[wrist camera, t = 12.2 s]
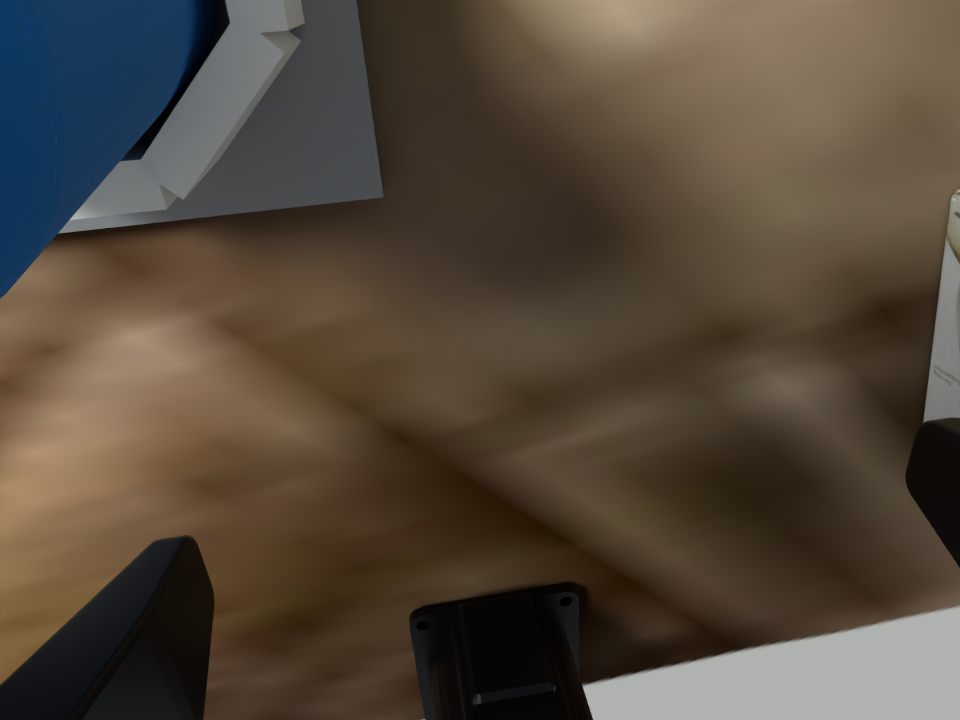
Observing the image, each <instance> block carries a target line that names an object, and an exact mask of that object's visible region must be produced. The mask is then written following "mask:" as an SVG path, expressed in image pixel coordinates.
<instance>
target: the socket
mask: <svg viewBox="0 0 960 720" xmlns="http://www.w3.org/2000/svg"><path fill="white" fill-rule="evenodd" d="M383 197H384V196H383V187H382V179H381V172H380V165H379V158H378V151H377V143H376V136H375V129H374V122H373V115H372V107H371V100H370V93H369V86H368V79H367V71H366V64H365V57H364V50H363V43H362V36H361V28H360V21H359V14H358V7H357V0H217V12H216V20H215V26H214V30H213V34H212V37H211V41H210V44H209V47H208V49H207V51H206V54H205V56H204V58H203V61H202V63H201V64H200V66H199V67H198V69H197V71H196V72H195V74H194V75H193V77H192V78H191V79H190V80H189V82H188V83H187V84H186V85H185V86H184V87H183V89H182V90H181V91H180V92H179V93H178V94H177V96H176V97H175V98H174V99H173V100H172V101H171V103H170V104H169V105H168V106H167V107H166V108H165V110H164V111H163V112H162V113H161V114H160V115H159V116H158V118H157V119H156V120H155V121H154V122H153V123H152V125H151V126H150V127H149V128H148V129H147V130H146V132H145V133H144V134H143V135H142V136H141V137H140V139H139V140H138V141H137V142H136V143H135V144H134V146H133V147H132V148H131V149H130V150H129V151H128V152H127V154H126V155H125V156H124V157H123V158H122V159H121V161H120V162H119V163H118V164H117V165H116V166H115V168H114V169H113V170H112V171H111V172H110V173H109V175H108V176H107V177H106V178H105V179H104V180H103V182H102V183H101V184H100V185H99V186H98V187H97V189H96V190H95V191H94V192H93V193H92V194H91V195H90V197H89V198H88V199H87V200H86V201H85V202H84V204H83V205H82V206H81V207H80V208H79V209H78V211H77V212H76V213H75V214H74V215H73V216H72V218H71V219H70V220H69V221H68V222H67V223H66V225H65V226H64V227H63V228H62V229H61V230H60V231H59V233H67V232H76V231H85V230H94V229H103V228H112V227H121V226H130V225H139V224H148V223H157V222H166V221H176V220H185V219H194V218H203V217H212V216H221V215H230V214H239V213H248V212H257V211H266V210H275V209H284V208H293V207H302V206H311V205H320V204H329V203H338V202H347V201H356V200H365V199H374V198H383Z"/></svg>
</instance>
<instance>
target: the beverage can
mask: <svg viewBox="0 0 960 720" xmlns="http://www.w3.org/2000/svg"><path fill="white" fill-rule="evenodd" d="M216 12H217V0H0V298H1V297H3V296H4V295H5V294H6V293H7V292H8V290H9V289H10V288H11V287H12V286H13V285H14V284H15V282H16V281H17V280H18V279H19V278H20V277H21V276H22V274H23V273H24V272H25V271H26V270H27V269H28V268H29V266H30V265H31V264H32V263H33V262H34V261H35V259H36V258H37V257H38V256H39V255H40V254H41V252H42V251H43V250H44V249H45V248H46V247H47V245H48V244H49V243H50V242H51V241H52V240H53V238H54V237H55V236H56V235H57V234H58V233H59V231H60V230H61V229H62V228H63V227H64V226H65V225H66V223H67V222H68V221H69V220H70V219H71V218H72V216H73V215H74V214H75V213H76V212H77V211H78V209H79V208H80V207H81V206H82V205H83V204H84V202H85V201H86V200H87V199H88V198H89V197H90V195H91V194H92V193H93V192H94V191H95V190H96V189H97V187H98V186H99V185H100V184H101V183H102V182H103V180H104V179H105V178H106V177H107V176H108V175H109V173H110V172H111V171H112V170H113V169H114V168H115V166H116V165H117V164H118V163H119V162H120V161H121V159H122V158H123V157H124V156H125V155H126V154H127V152H128V151H129V150H130V149H131V148H132V147H133V146H134V144H135V143H136V142H137V141H138V140H139V139H140V137H141V136H142V135H143V134H144V133H145V132H146V130H147V129H148V128H149V127H150V126H151V125H152V123H153V122H154V121H155V120H156V119H157V118H158V116H159V115H160V114H161V113H162V112H163V111H164V110H165V108H166V107H167V106H168V105H169V104H170V103H171V101H172V100H173V99H174V98H175V97H176V96H177V94H178V93H179V92H180V91H181V90H182V89H183V87H184V86H185V85H186V84H187V83H188V82H189V80H190V79H191V78H192V77H193V75H194V74H195V72H196V71H197V69H198V67H199V66H200V64H201V63H202V61H203V58H204V56H205V54H206V51H207V49H208V47H209V44H210V41H211V37H212V34H213V30H214V26H215V20H216Z"/></svg>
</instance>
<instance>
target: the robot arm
mask: <svg viewBox="0 0 960 720" xmlns="http://www.w3.org/2000/svg"><path fill="white" fill-rule="evenodd" d="M905 477H906V484H907V487H908V490H909V492H910V494H911V496H912V497H913V499H914V500H915V502H916V503H917V505H918V506H919V508H920V509H921V511H922V512H923V514H924V515H925V517H926V518H927V520H928V521H929V523H930V524H931V526H932V527H933V529H934V530H935V532H936V533H937V535H938V536H939V538H940V539H941V540H942V542H943V543H944V545H945V546H946V548H947V549H948V551H949V552H950V554H951V555H952V557H953V558H954V560H955V561H956V563H957V564H958V566H959V567H960V418H956V417H949V418H943V419H936V420H930V421H926V422H924V423H922V424H921V425H920V426H919V427H918V429H917V431H916V434H915V437H914V441H913V445H912V449H911V453H910V457H909V461H908V465H907V469H906V474H905ZM564 597H567V598H564ZM562 598H564V599H562ZM213 613H214V593H213V588H212V584H211V581H210V578H209V576H208V573H207V570H206V567H205V564H204V561H203V558H202V555H201V553H200V550H199V547H198V544H197V542H196V541H195V540H194V538H193V537H191V536H188V535H184V536H177V537H171V538H164V539H159V540H156V541H154V542H152V543H151V544H150V545H149V546H148V547H147V548H146V549H144V550H143V551H142V552H141V553H140V554H139V555H138V556H137V557H136V558H135V559H134V560H133V561H132V562H131V563H130V564H128V565H127V566H126V567H125V568H124V569H123V570H122V571H121V572H120V573H119V574H118V575H117V576H116V577H115V578H114V579H113V580H111V581H110V582H109V583H108V584H107V585H106V586H105V587H104V588H103V589H102V590H101V591H100V592H99V593H98V594H97V595H95V596H94V597H93V598H92V599H91V600H90V601H89V602H88V603H87V604H86V605H85V606H84V607H83V608H82V609H81V610H79V611H78V612H77V613H76V614H75V615H74V616H73V617H72V618H71V619H70V620H69V621H68V622H67V623H66V624H65V625H64V626H62V627H61V628H60V629H59V630H58V631H57V632H56V633H55V634H54V635H53V636H52V637H51V638H50V639H49V640H48V641H46V642H45V643H44V644H43V645H42V646H41V647H40V648H39V649H38V650H37V651H36V652H35V653H34V654H33V655H32V656H31V657H29V658H28V659H27V660H26V661H25V662H24V663H23V664H22V665H21V666H20V667H19V668H18V669H17V670H16V671H15V672H13V673H12V674H11V675H10V676H9V677H8V678H7V679H6V680H5V681H4V682H3V683H2V684H1V685H0V720H203V717H204V707H205V697H206V687H207V676H208V666H209V655H210V645H211V634H212V624H213ZM420 621H425V622H420ZM409 623H410V632H411V638H412V643H413V649H414V655H415V661H416V667H417V673H418V679H419V684H420V690H421V696H422V702H423V708H424V714H425V719H426V720H593V718H592V715H591V712H590V709H589V705H588V702H587V699H586V696H585V693H584V690H583V686H582V683H581V680H580V650H579V598H578V595H577V592H576V589H575V588H574V587H573V586H572V585H569V584H562V585H556V586H550V587H544V588H538V589H532V590H526V591H520V592H514V593H508V594H502V595H496V596H490V597H484V598H478V599H472V600H466V601H460V602H453V603H447V604H441V605H435V606H429V607H423V608H419V609H416V610H414V611H413V612H412V613H411V614H410V617H409Z"/></svg>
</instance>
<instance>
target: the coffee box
mask: <svg viewBox="0 0 960 720" xmlns="http://www.w3.org/2000/svg"><path fill="white" fill-rule="evenodd" d="M949 417H956V418H960V189H959V190H957V191H956V192H955V193H954V194H953V196H952V198H951V203H950V209H949V217H948V226H947V234H946V242H945V249H944V257H943V265H942V273H941V282H940V290H939V298H938V306H937V314H936V322H935V330H934V338H933V346H932V355H931V364H930V372H929V380H928V388H927V395H926V403H925V411H924V420H923V423H924V422H926V421H930V420H936V419H943V418H949Z"/></svg>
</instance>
